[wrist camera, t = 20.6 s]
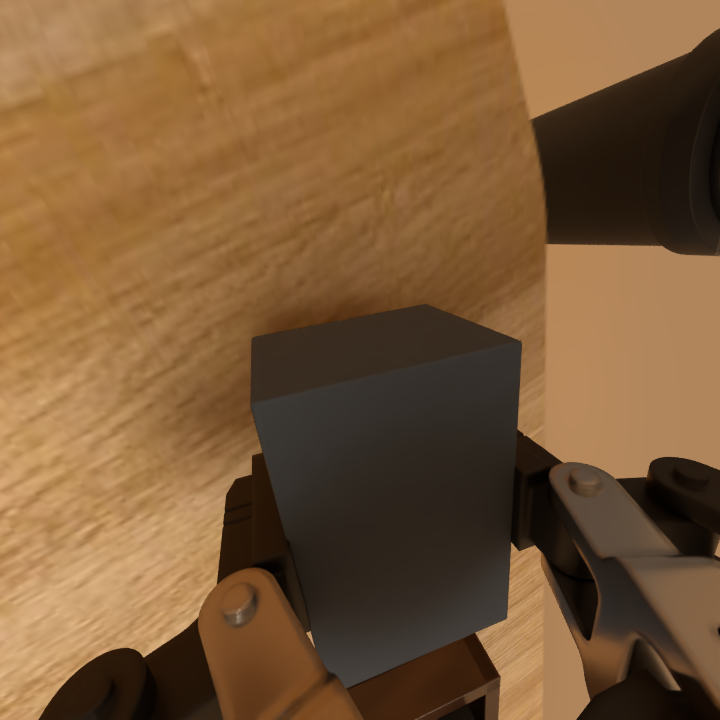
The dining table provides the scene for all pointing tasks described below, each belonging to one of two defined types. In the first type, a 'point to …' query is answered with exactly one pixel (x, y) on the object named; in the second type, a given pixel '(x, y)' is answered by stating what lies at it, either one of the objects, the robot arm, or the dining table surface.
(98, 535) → the dining table surface
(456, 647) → the divided wooden tray
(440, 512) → the pad
